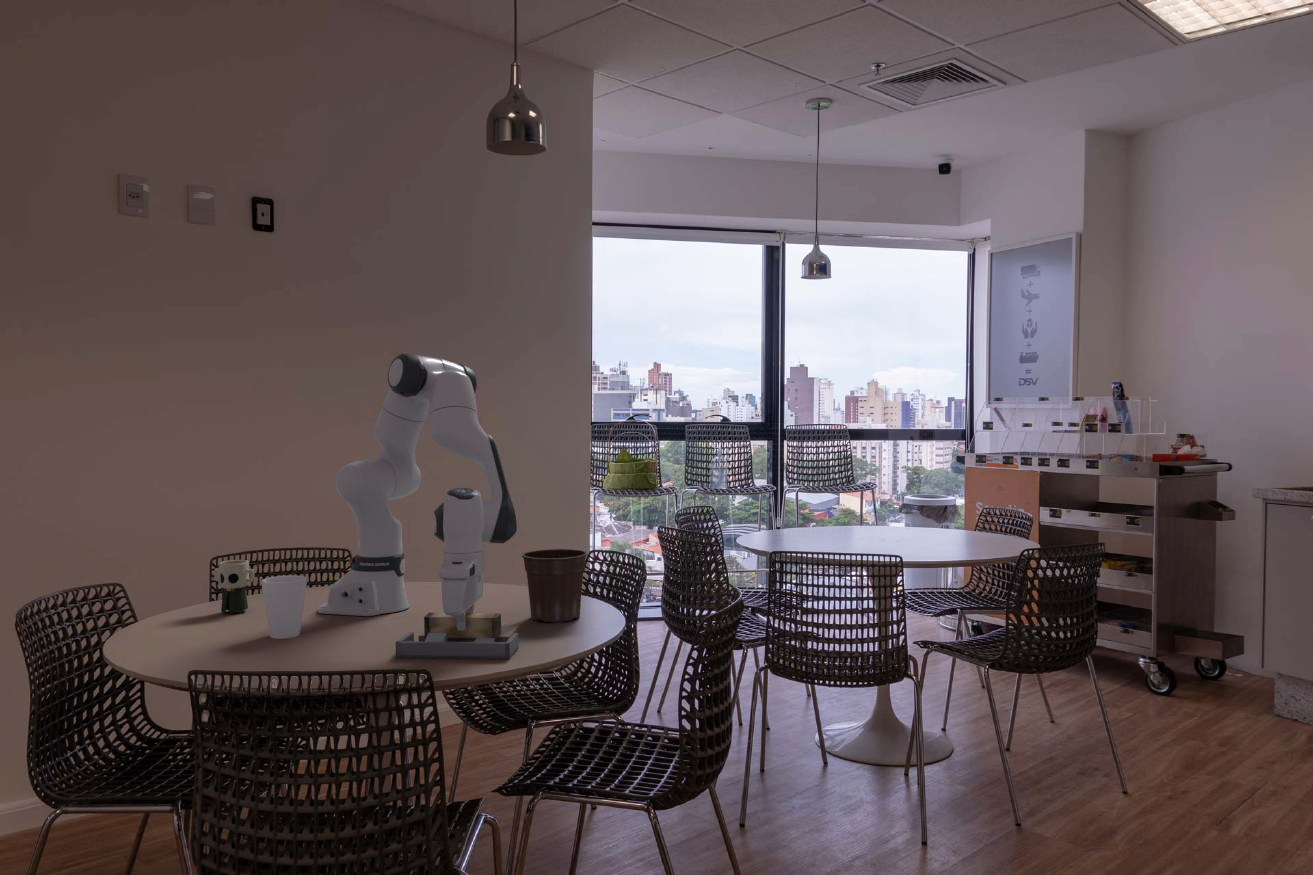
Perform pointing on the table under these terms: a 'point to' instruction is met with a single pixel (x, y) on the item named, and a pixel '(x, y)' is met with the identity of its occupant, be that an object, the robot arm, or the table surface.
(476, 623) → the brown wooden block
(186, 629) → the table surface
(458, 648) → the tray
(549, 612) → the plant pot
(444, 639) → the tile
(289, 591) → the foam cup
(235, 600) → the character mug
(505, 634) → the board
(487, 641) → the tile
